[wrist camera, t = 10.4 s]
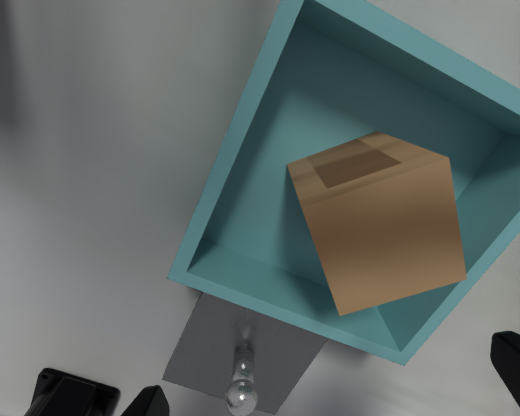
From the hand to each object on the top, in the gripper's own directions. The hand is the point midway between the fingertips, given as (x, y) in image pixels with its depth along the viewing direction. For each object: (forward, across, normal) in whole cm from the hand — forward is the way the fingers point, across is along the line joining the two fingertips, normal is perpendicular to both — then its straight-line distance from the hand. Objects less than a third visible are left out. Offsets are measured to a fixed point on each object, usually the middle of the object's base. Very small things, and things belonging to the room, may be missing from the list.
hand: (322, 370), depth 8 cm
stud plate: (+13, +5, +11) cm, 18 cm away
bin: (+12, -4, -1) cm, 13 cm away
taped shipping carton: (+12, -4, -1) cm, 12 cm away
